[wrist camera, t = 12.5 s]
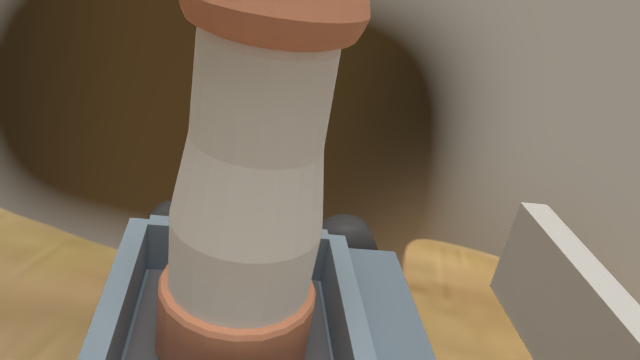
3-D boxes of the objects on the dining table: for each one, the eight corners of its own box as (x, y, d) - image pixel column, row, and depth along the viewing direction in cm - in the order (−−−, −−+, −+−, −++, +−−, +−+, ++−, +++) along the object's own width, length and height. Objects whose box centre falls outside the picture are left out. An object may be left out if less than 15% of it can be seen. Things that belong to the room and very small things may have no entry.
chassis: (57, 504, 21) (51, 428, 19) (137, 252, 35) (138, 195, 33) (445, 505, 23) (473, 438, 21) (373, 269, 37) (386, 217, 35)
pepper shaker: (332, 336, 29) (423, -63, 21) (244, 428, 23) (320, -73, 15) (223, 275, 32) (264, -95, 24) (120, 344, 26) (126, -115, 18)
